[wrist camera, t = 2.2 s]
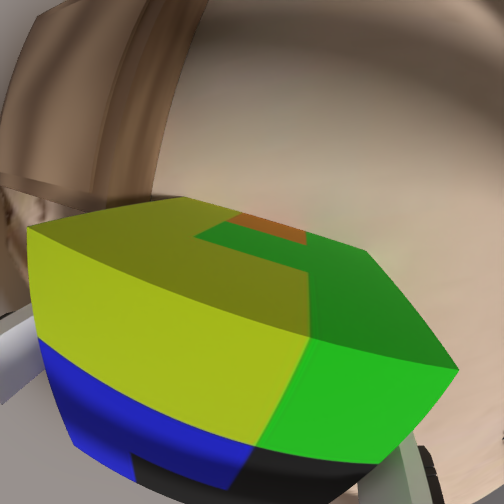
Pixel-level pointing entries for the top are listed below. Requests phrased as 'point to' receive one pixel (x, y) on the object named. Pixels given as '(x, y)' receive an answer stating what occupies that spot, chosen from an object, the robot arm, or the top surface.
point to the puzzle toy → (227, 352)
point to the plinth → (94, 100)
